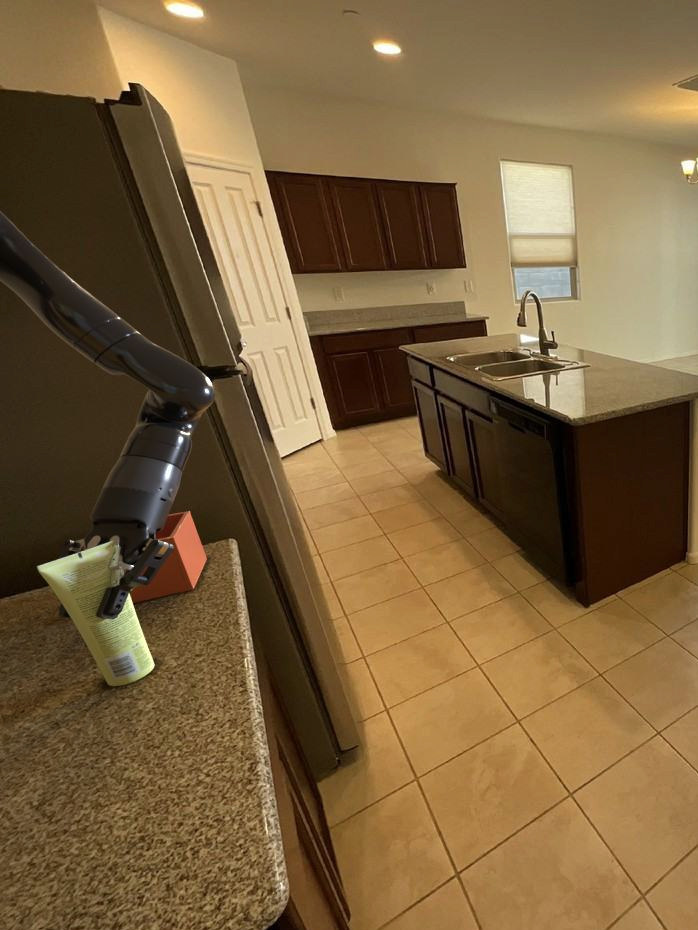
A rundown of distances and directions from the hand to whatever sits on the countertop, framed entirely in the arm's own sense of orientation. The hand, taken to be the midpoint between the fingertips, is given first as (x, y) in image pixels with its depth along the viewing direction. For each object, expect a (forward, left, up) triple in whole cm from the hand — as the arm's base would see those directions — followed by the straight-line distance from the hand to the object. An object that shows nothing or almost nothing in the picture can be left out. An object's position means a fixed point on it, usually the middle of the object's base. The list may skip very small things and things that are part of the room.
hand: (87, 617), depth 67 cm
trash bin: (-10, +28, -11) cm, 32 cm away
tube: (+1, +2, -11) cm, 11 cm away
